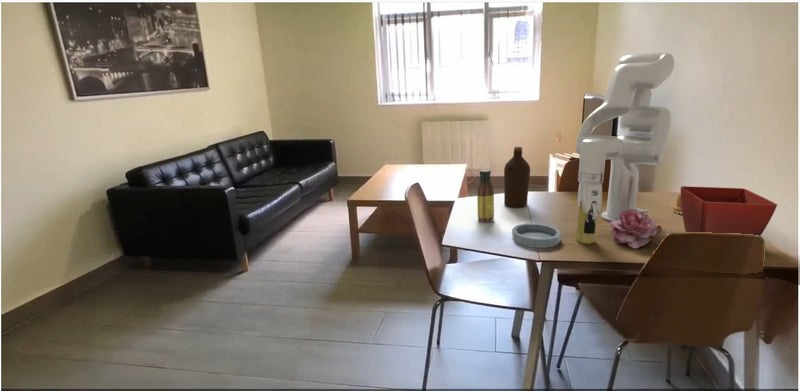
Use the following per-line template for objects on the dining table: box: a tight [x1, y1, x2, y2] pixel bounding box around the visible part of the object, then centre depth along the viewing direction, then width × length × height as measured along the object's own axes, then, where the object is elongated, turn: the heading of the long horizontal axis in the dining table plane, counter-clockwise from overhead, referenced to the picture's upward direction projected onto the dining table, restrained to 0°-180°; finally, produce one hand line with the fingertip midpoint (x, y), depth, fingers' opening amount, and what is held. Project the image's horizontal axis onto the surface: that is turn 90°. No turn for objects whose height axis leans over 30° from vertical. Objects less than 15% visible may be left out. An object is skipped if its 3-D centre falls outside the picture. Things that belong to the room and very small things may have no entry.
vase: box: [574, 199, 597, 245], centre depth 145 cm, size 6×6×14 cm
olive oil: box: [503, 146, 531, 209], centre depth 184 cm, size 11×11×25 cm
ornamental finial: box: [672, 193, 682, 212], centre depth 170 cm, size 8×8×8 cm
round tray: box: [511, 222, 562, 249], centre depth 149 cm, size 15×15×3 cm
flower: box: [608, 209, 663, 249], centre depth 144 cm, size 15×15×10 cm
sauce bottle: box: [476, 168, 495, 223], centre depth 167 cm, size 7×6×20 cm
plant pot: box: [680, 185, 778, 237], centre depth 138 cm, size 19×19×17 cm
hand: (585, 229), depth 146 cm, fingers closed on vase, 5 cm apart
